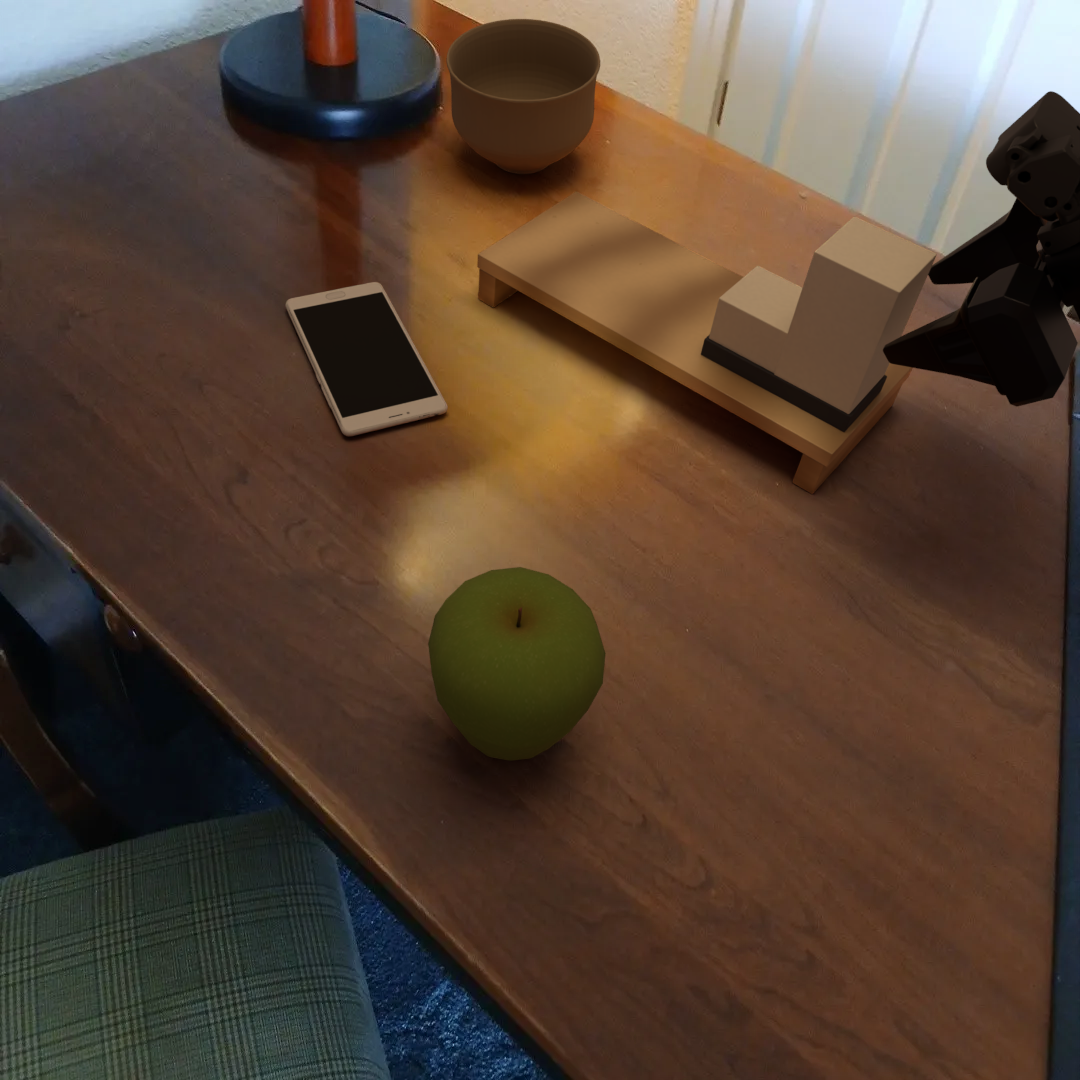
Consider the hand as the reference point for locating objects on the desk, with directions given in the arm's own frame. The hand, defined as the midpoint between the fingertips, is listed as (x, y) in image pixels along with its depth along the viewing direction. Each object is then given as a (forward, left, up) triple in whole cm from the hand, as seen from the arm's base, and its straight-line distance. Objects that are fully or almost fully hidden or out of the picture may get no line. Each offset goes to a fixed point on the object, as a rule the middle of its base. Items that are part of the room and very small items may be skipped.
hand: (909, 314), depth 64 cm
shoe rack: (+15, -1, -12) cm, 19 cm away
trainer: (+6, +1, -8) cm, 10 cm away
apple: (+4, +32, -12) cm, 35 cm away
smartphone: (+31, +16, -12) cm, 37 cm away
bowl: (+40, -12, -12) cm, 43 cm away
